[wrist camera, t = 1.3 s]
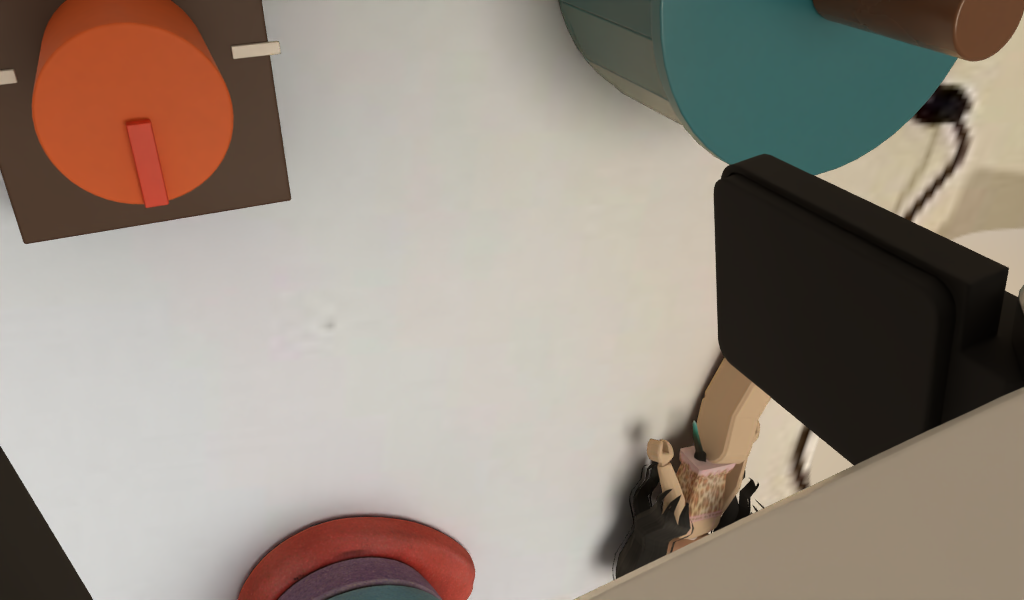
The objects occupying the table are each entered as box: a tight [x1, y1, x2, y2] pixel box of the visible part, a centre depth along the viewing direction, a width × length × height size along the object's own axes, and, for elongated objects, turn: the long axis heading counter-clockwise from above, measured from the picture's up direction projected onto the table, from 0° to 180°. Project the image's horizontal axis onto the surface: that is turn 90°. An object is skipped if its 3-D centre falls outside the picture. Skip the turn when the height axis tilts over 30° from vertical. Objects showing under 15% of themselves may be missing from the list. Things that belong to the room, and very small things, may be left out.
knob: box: [32, 0, 234, 208], centre depth 23 cm, size 4×4×6 cm
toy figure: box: [612, 357, 771, 579], centre depth 44 cm, size 7×6×15 cm
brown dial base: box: [0, 0, 291, 244], centre depth 26 cm, size 10×9×3 cm
